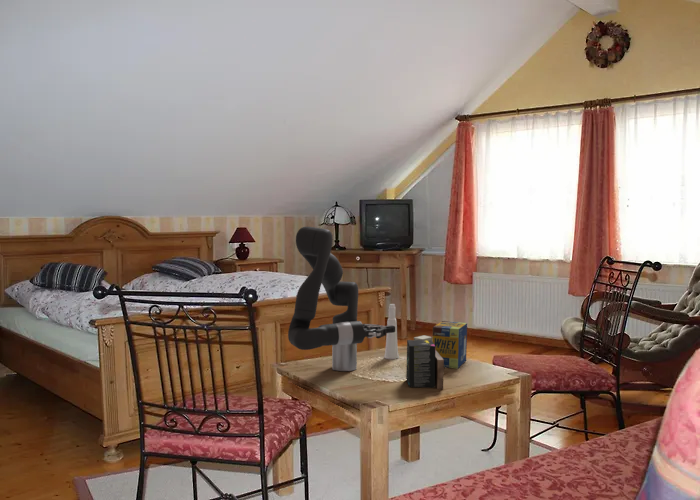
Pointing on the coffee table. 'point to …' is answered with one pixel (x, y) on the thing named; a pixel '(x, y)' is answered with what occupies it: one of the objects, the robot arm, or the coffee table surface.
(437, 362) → the walnut board
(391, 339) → the cosmetic bottle
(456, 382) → the coffee table surface
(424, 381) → the tampon box
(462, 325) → the protein box
